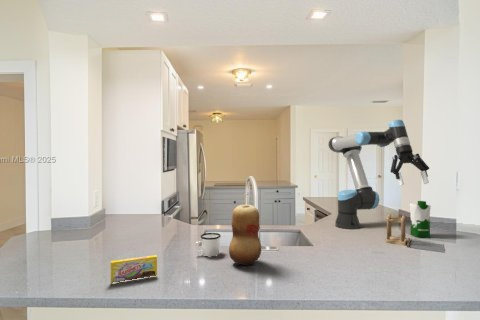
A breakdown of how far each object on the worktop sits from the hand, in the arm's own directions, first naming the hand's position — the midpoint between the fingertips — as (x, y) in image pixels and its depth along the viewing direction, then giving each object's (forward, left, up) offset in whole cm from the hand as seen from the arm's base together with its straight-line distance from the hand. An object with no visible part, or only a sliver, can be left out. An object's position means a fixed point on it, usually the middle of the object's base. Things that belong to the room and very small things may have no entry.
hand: (414, 184), depth 147 cm
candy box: (-84, -108, -31) cm, 141 cm away
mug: (-79, -72, -31) cm, 112 cm away
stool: (-8, -3, -31) cm, 32 cm away
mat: (+5, -3, -31) cm, 31 cm away
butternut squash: (-58, -72, -31) cm, 98 cm away
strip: (-2, -3, -31) cm, 31 cm away
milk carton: (+2, +17, -31) cm, 35 cm away
